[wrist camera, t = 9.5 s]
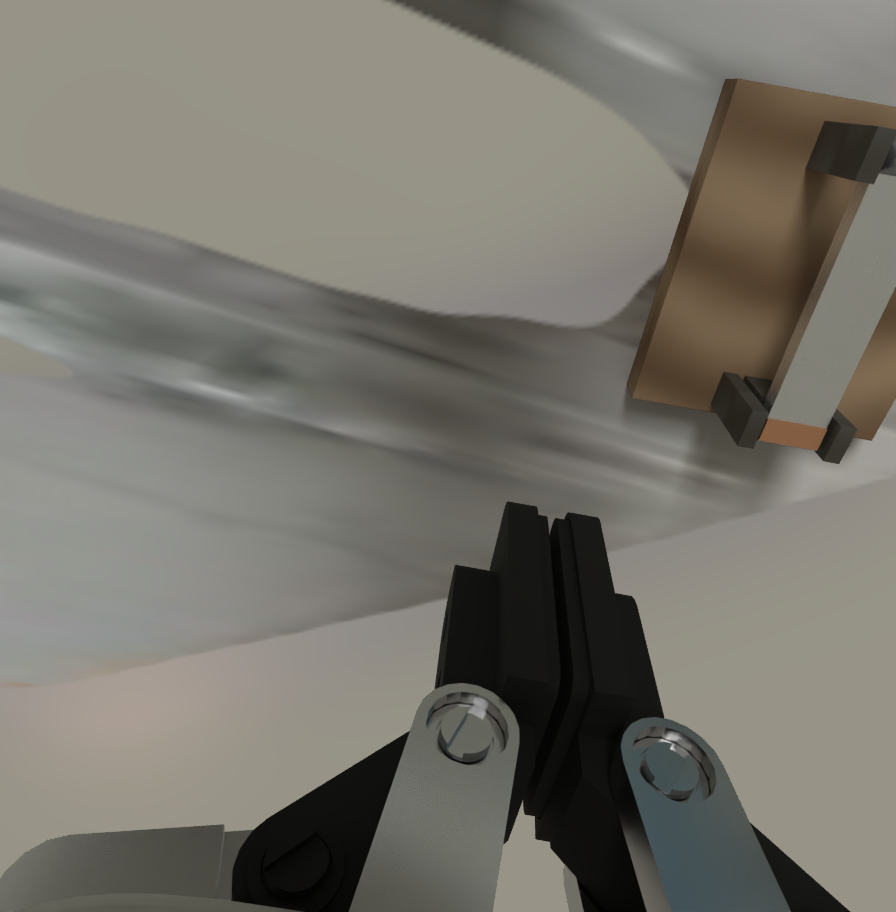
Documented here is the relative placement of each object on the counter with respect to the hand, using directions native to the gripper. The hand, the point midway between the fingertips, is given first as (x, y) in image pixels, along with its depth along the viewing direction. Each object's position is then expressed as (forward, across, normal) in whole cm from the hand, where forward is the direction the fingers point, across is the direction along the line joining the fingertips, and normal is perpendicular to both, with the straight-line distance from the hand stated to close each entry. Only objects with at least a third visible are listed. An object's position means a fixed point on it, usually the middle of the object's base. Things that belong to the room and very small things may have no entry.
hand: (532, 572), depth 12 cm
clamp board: (+27, -15, -2) cm, 31 cm away
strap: (+22, -15, -1) cm, 27 cm away
